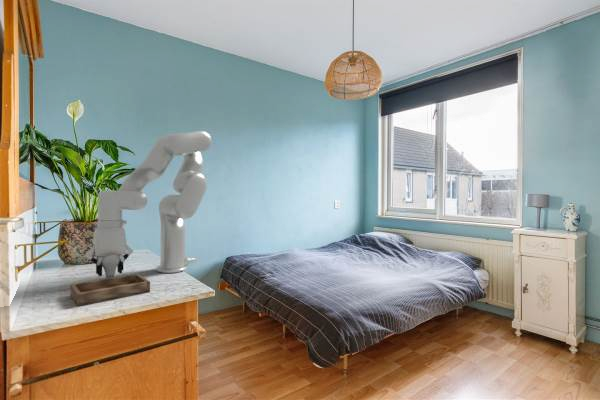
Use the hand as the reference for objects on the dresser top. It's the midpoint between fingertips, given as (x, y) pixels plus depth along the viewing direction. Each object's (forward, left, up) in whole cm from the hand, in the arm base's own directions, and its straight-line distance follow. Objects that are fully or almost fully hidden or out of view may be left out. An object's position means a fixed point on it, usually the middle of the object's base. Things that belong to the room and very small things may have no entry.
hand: (109, 273), depth 114 cm
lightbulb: (0, 0, -3) cm, 3 cm away
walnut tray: (+3, +14, -3) cm, 15 cm away
